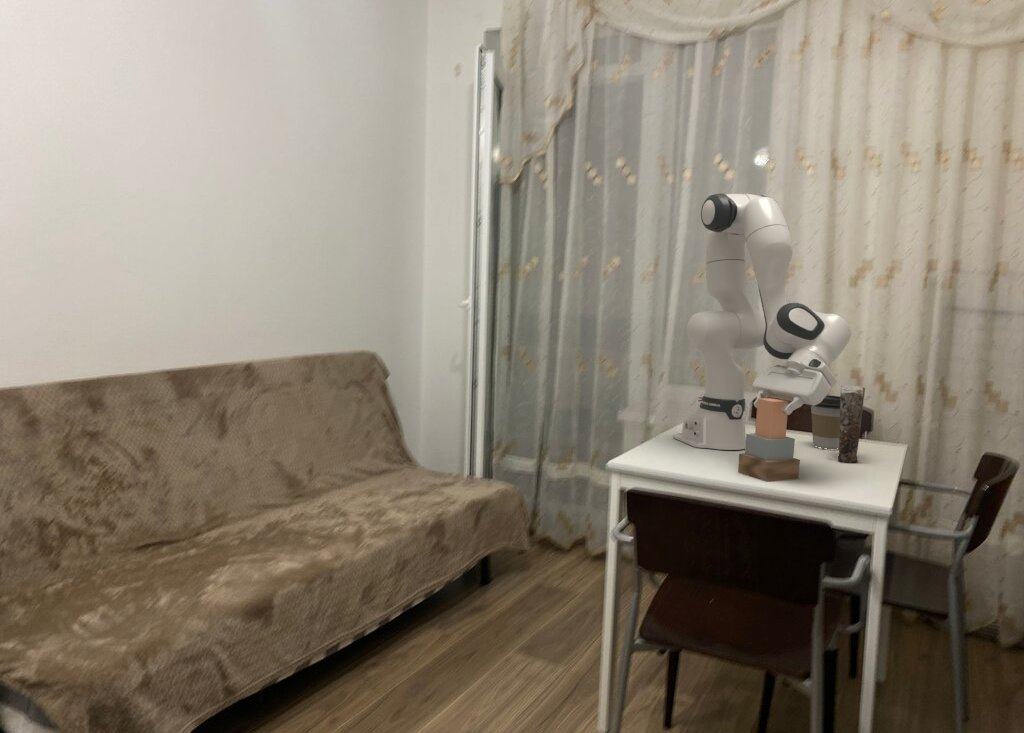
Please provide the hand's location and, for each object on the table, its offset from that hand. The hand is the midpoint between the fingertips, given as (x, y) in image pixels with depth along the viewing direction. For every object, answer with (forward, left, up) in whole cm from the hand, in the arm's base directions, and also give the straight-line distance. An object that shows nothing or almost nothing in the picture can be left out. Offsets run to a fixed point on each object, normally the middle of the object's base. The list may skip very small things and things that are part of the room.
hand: (770, 409), depth 191 cm
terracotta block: (0, +1, -7) cm, 7 cm away
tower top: (-1, +1, -12) cm, 12 cm away
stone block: (-10, +39, -17) cm, 43 cm away
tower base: (0, +1, -17) cm, 17 cm away
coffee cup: (-24, +46, -17) cm, 54 cm away
